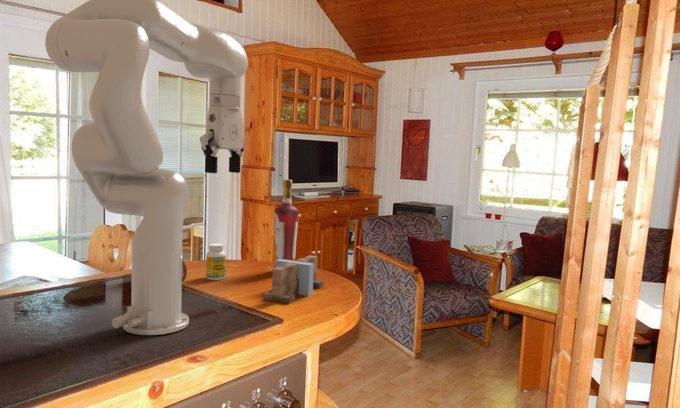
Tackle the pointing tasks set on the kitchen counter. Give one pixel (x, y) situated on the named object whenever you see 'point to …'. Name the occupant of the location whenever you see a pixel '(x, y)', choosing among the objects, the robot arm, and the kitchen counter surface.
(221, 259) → the supplement bottle
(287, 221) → the liquor
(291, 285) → the walnut slotted rail
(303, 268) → the blue slotted plate
